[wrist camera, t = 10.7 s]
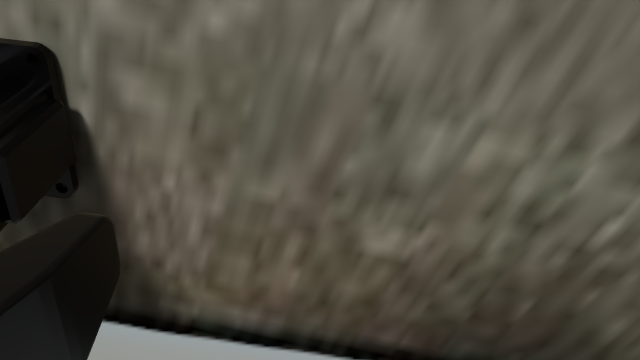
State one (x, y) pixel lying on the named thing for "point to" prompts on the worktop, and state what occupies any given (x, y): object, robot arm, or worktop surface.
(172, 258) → the worktop surface
